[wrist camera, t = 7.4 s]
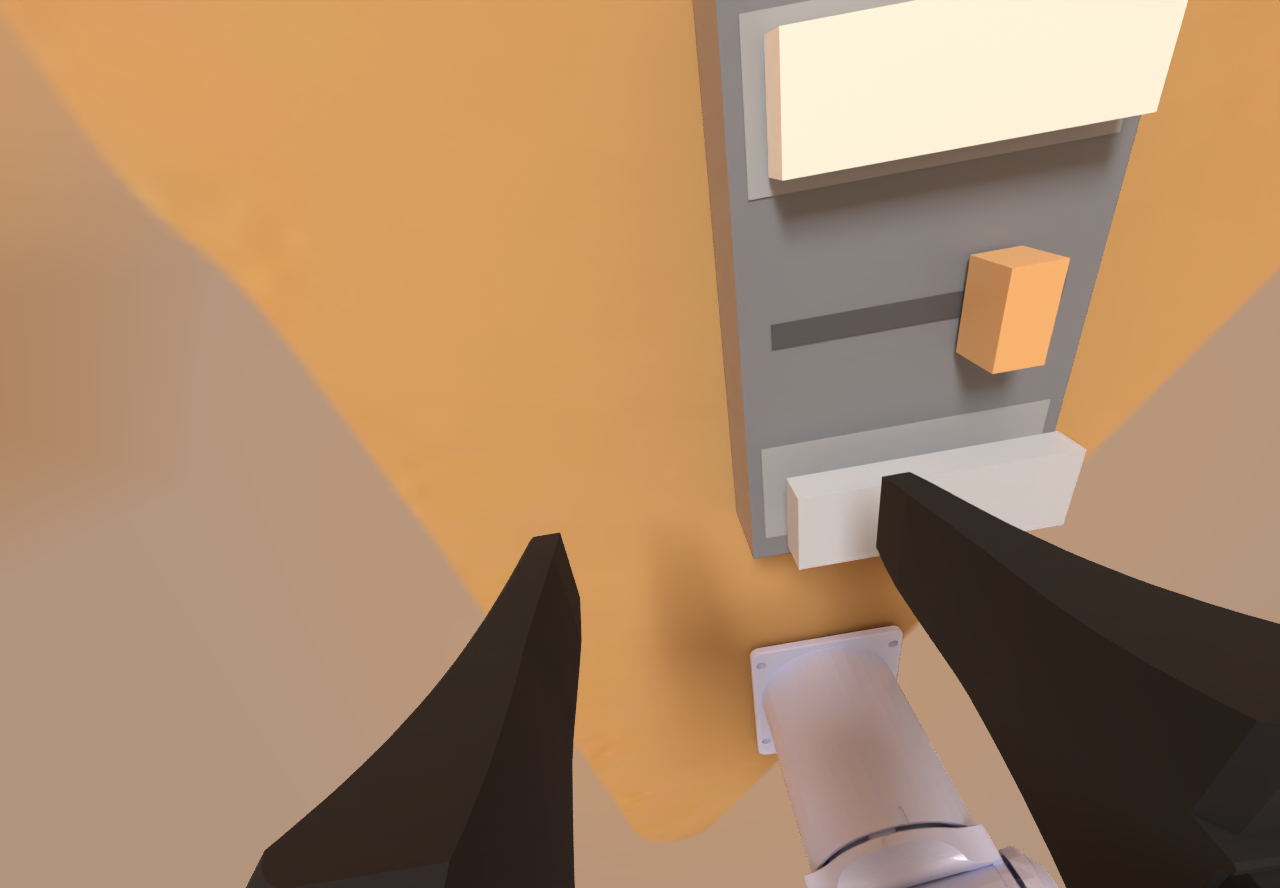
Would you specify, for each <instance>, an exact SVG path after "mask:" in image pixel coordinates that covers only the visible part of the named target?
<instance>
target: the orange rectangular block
mask: <svg viewBox="0 0 1280 888" xmlns="http://www.w3.org/2000/svg"><path fill="white" fill-rule="evenodd" d="M1069 261H1070V258H1068V257H1065V256H1061V255H1057V254H1053V253H1049V252H1045V251H1042V250H1038V249H1034V248H1030V247H1026V246H1017V247H1011V248H1006V249H1000V250H994V251H989V252H983V253H978V254H972V255H970V261H969V268H968V274H967V281H966V288H965V294H964V301H963V308H962V314H961V321H960V327H959V334H958V341H957V347H956V352H957V353H958V354H960V355H961V356H963V357H965V358H966V359H968V360H970V361H971V362H973V363H975V364H976V365H978V366H980V367H981V368H983V369H985V370H986V371H988V372H990V373H991V374H996V373H1001V372H1007V371H1013V370H1018V369H1024V368H1030V367H1035V366H1041V365H1044V364H1045V360H1046V356H1047V352H1048V348H1049V343H1050V339H1051V335H1052V331H1053V327H1054V323H1055V319H1056V315H1057V311H1058V307H1059V302H1060V298H1061V294H1062V290H1063V286H1064V282H1065V278H1066V274H1067V270H1068V266H1069Z"/></svg>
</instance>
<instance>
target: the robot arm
mask: <svg viewBox="0 0 1280 888" xmlns="http://www.w3.org/2000/svg"><path fill="white" fill-rule="evenodd" d="M876 548H877V550H878V552H879V554H880V557H881V559H882V561H883V563H884V565H885V567H886V569H887V571H888V573H889V575H890V577H891V578H892V580H893V582H894V584H895V586H896V588H897V589H898V591H899V592H900V594H901V595H902V597H903V598H904V600H905V601H906V603H907V604H908V606H909V607H910V609H911V610H912V612H913V613H914V615H915V616H916V618H917V619H918V621H919V622H920V624H921V625H922V626H923V628H924V629H925V631H926V632H927V634H928V635H929V637H930V638H931V640H932V641H933V642H934V644H935V645H936V647H937V648H938V650H939V651H940V653H941V654H942V656H943V657H944V659H945V660H946V661H947V663H948V664H949V666H950V667H951V669H952V670H953V672H954V673H955V674H956V676H957V678H958V679H959V681H960V682H961V684H962V686H963V687H964V689H965V690H966V692H967V694H968V695H969V697H970V698H971V700H972V702H973V704H974V706H975V708H976V709H977V711H978V713H979V715H980V717H981V718H982V720H983V722H984V724H985V726H986V728H987V729H988V731H989V733H990V734H991V737H992V738H993V740H994V742H995V744H996V746H997V748H998V750H999V752H1000V753H1001V755H1002V757H1003V759H1004V761H1005V763H1006V765H1007V767H1008V769H1009V770H1010V773H1011V775H1012V776H1013V778H1014V780H1015V782H1016V784H1017V786H1018V788H1019V790H1020V792H1021V794H1022V796H1023V798H1024V800H1025V802H1026V804H1027V806H1028V808H1029V810H1030V812H1031V814H1032V816H1033V818H1034V820H1035V822H1036V824H1037V826H1038V828H1039V830H1040V833H1041V835H1042V837H1043V839H1044V841H1045V843H1046V845H1047V847H1048V849H1049V851H1050V853H1051V855H1052V857H1053V860H1054V862H1055V864H1056V866H1057V868H1058V871H1059V873H1060V875H1061V877H1062V879H1063V881H1064V884H1065V886H1066V888H1280V624H1278V623H1274V622H1270V621H1267V620H1263V619H1260V618H1256V617H1252V616H1248V615H1245V614H1242V613H1238V612H1235V611H1232V610H1229V609H1225V608H1222V607H1219V606H1215V605H1212V604H1209V603H1206V602H1202V601H1200V600H1196V599H1193V598H1191V597H1188V596H1185V595H1181V594H1178V593H1176V592H1173V591H1169V590H1167V589H1164V588H1161V587H1158V586H1155V585H1151V584H1149V583H1146V582H1144V581H1141V580H1138V579H1135V578H1132V577H1130V576H1127V575H1125V574H1122V573H1120V572H1117V571H1115V570H1112V569H1109V568H1107V567H1104V566H1102V565H1099V564H1096V563H1094V562H1092V561H1089V560H1086V559H1084V558H1082V557H1080V556H1077V555H1075V554H1073V553H1070V552H1068V551H1065V550H1063V549H1061V548H1059V547H1057V546H1055V545H1053V544H1050V543H1048V542H1046V541H1044V540H1042V539H1040V538H1037V537H1035V536H1033V535H1031V534H1029V533H1027V532H1025V531H1023V530H1021V529H1019V528H1017V527H1015V526H1013V525H1011V524H1009V523H1007V522H1005V521H1003V520H1001V519H999V518H997V517H995V516H993V515H991V514H989V513H987V512H985V511H983V510H981V509H980V508H978V507H976V506H974V505H972V504H970V503H968V502H966V501H965V500H963V499H961V498H959V497H957V496H955V495H953V494H952V493H950V492H948V491H946V490H944V489H942V488H940V487H939V486H937V485H935V484H933V483H931V482H929V481H927V480H925V479H923V478H921V477H919V476H917V475H915V474H913V473H911V472H906V473H900V474H894V475H888V476H883V477H882V482H881V493H880V505H879V516H878V528H877V539H876ZM902 639H903V633H902V631H901V630H900V628H899V627H898V626H886V627H880V628H874V629H868V630H862V631H856V632H851V633H845V634H839V635H833V636H827V637H821V638H815V639H809V640H803V641H797V642H791V643H785V644H779V645H773V646H767V647H762V648H757V649H754V650H753V651H752V652H751V653H750V666H751V677H752V689H753V701H754V713H755V725H756V737H757V747H758V751H759V753H761V754H763V755H769V754H775V753H777V757H778V760H779V764H780V766H781V770H782V774H783V777H784V781H785V784H786V787H787V791H788V794H789V797H790V801H791V805H792V808H793V811H794V815H795V818H796V822H797V825H798V829H799V832H800V836H801V839H802V842H803V846H804V849H805V853H806V855H807V858H808V861H809V865H810V868H811V872H812V873H809V874H806V875H805V876H804V880H805V884H806V887H807V888H1058V886H1057V885H1056V883H1055V882H1054V881H1053V879H1052V878H1051V876H1050V875H1049V874H1048V873H1047V871H1046V870H1045V869H1044V868H1043V866H1042V865H1041V864H1040V863H1038V862H1037V861H1036V860H1034V859H1032V858H1031V857H1029V856H1027V855H1025V854H1022V853H1021V851H1019V850H1018V849H1017V848H1015V847H1014V846H1008V847H1006V848H1004V849H1000V850H999V851H997V849H996V847H995V845H994V843H993V842H992V840H991V838H990V836H989V834H988V833H987V831H986V829H985V827H984V826H983V825H982V824H975V822H974V820H973V819H972V817H971V815H970V813H969V811H968V810H967V808H966V806H965V804H964V802H963V801H962V799H961V797H960V795H959V793H958V791H957V790H956V788H955V786H954V784H953V782H952V781H951V779H950V777H949V775H948V773H947V771H946V770H945V768H944V766H943V764H942V762H941V761H940V759H939V757H938V755H937V753H936V752H935V750H934V748H933V746H932V744H931V742H930V741H929V739H928V737H927V735H926V733H925V732H924V730H923V728H922V726H921V724H920V722H919V721H918V719H917V717H916V715H915V713H914V712H913V710H912V708H911V706H910V704H909V703H908V701H907V699H906V697H905V695H904V694H903V692H902V690H901V688H900V686H899V685H898V683H897V675H898V668H899V660H900V653H901V646H902ZM580 653H581V611H580V596H579V593H578V590H577V587H576V583H575V580H574V577H573V574H572V570H571V567H570V564H569V560H568V557H567V554H566V551H565V547H564V544H563V541H562V538H561V534H560V533H555V534H549V535H543V536H537V537H533V538H532V539H531V541H530V542H529V544H528V546H527V548H526V549H525V551H524V553H523V555H522V557H521V559H520V560H519V562H518V564H517V566H516V568H515V569H514V571H513V573H512V575H511V576H510V578H509V580H508V582H507V583H506V585H505V587H504V589H503V590H502V592H501V593H500V595H499V597H498V598H497V600H496V602H495V603H494V605H493V607H492V608H491V610H490V611H489V613H488V615H487V616H486V618H485V619H484V621H483V622H482V624H481V625H480V627H479V628H478V630H477V631H476V633H475V634H474V636H473V637H472V639H471V640H470V641H469V643H468V644H467V646H466V647H465V649H464V650H463V651H462V653H461V654H460V655H459V657H458V658H457V659H456V661H455V662H454V664H453V665H452V666H451V667H450V669H449V670H448V671H447V673H446V674H445V675H444V676H443V678H442V679H441V680H440V681H439V683H438V684H437V685H436V686H435V688H434V689H433V690H432V691H431V692H430V694H429V695H428V696H427V697H426V698H425V699H424V701H423V702H422V703H421V704H420V705H419V706H418V707H417V708H416V709H415V711H414V712H413V713H412V714H411V715H410V716H409V717H408V718H407V720H405V722H404V723H403V724H402V725H401V726H400V727H399V728H398V729H397V730H396V731H395V732H394V734H393V735H392V736H391V737H390V738H389V739H388V740H387V741H386V742H385V743H384V744H383V745H382V746H381V747H380V748H379V749H378V750H377V751H376V752H375V753H374V754H373V755H372V756H371V757H370V758H369V759H368V760H367V761H366V762H365V763H364V764H363V765H362V766H361V767H360V768H358V769H357V770H356V771H355V772H354V773H353V774H352V775H351V776H350V777H349V778H348V779H347V780H346V781H345V782H344V783H343V784H342V785H340V786H339V787H338V788H337V789H336V790H335V791H334V792H333V793H332V794H330V795H329V796H328V797H327V798H326V799H325V800H324V801H323V802H321V803H320V804H319V805H318V806H317V807H316V808H314V809H313V810H312V811H311V812H310V813H309V814H307V815H306V816H305V817H304V818H303V819H302V820H300V821H299V822H298V823H297V824H296V825H295V826H293V827H292V828H291V829H290V830H289V831H288V832H286V833H285V834H284V835H283V836H282V837H281V838H280V839H278V840H277V841H276V842H275V843H273V844H272V845H271V846H270V847H268V849H266V850H265V851H264V853H263V855H262V857H261V859H260V861H259V863H258V865H257V867H256V869H255V871H254V873H253V875H252V877H251V879H250V881H249V883H248V885H247V887H246V888H575V883H574V847H573V793H572V792H573V791H572V790H573V789H572V788H573V787H572V758H573V737H574V725H575V714H576V702H577V690H578V678H579V666H580Z"/></svg>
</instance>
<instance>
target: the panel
mask: <svg viewBox="0 0 1280 888" xmlns="http://www.w3.org/2000/svg"><path fill="white" fill-rule="evenodd" d="M909 1H914V0H693V9H694V21H695V32H696V44H697V56H698V67H699V79H700V91H701V102H702V114H703V126H704V138H705V149H706V161H707V173H708V184H709V196H710V208H711V219H712V231H713V243H714V254H715V266H716V278H717V289H718V301H719V313H720V325H721V336H722V348H723V360H724V371H725V383H726V395H727V406H728V418H729V430H730V441H731V453H732V465H733V477H734V488H735V500H736V512H737V515H738V517H739V520H740V523H741V525H742V528H743V531H744V534H745V536H746V539H747V542H748V544H749V547H750V550H751V552H752V555H753V558H754V559H756V558H762V557H768V556H774V555H780V554H785V553H791V552H790V550H789V548H788V528H787V487H786V478H791V477H797V476H802V475H808V474H814V473H820V472H825V471H831V470H837V469H843V468H848V467H854V466H860V465H866V464H871V463H877V462H883V461H889V460H894V459H900V458H906V457H912V456H917V455H923V454H929V453H935V452H940V451H946V450H952V449H957V448H963V447H969V446H975V445H980V444H986V443H992V442H998V441H1003V440H1009V439H1015V438H1021V437H1026V436H1032V435H1038V434H1044V433H1049V432H1055V428H1056V424H1057V421H1058V417H1059V413H1060V410H1061V406H1062V402H1063V399H1064V395H1065V391H1066V388H1067V384H1068V380H1069V377H1070V373H1071V369H1072V366H1073V362H1074V358H1075V355H1076V351H1077V347H1078V344H1079V340H1080V336H1081V333H1082V329H1083V325H1084V322H1085V318H1086V314H1087V311H1088V307H1089V303H1090V300H1091V296H1092V292H1093V289H1094V285H1095V281H1096V278H1097V274H1098V271H1099V267H1100V263H1101V260H1102V256H1103V252H1104V249H1105V245H1106V241H1107V238H1108V234H1109V230H1110V227H1111V223H1112V219H1113V216H1114V212H1115V208H1116V205H1117V201H1118V197H1119V194H1120V190H1121V186H1122V183H1123V179H1124V175H1125V172H1126V168H1127V164H1128V161H1129V157H1130V153H1131V150H1132V146H1133V142H1134V139H1135V135H1136V131H1137V128H1138V124H1139V120H1140V117H1141V115H1136V116H1131V117H1126V118H1120V119H1115V120H1109V121H1104V122H1098V123H1093V124H1088V125H1082V126H1077V127H1071V128H1066V129H1060V130H1055V131H1050V132H1044V133H1039V134H1033V135H1028V136H1022V137H1017V138H1012V139H1006V140H1001V141H995V142H990V143H984V144H979V145H974V146H968V147H963V148H957V149H952V150H947V151H941V152H936V153H930V154H925V155H919V156H914V157H909V158H903V159H898V160H892V161H887V162H881V163H876V164H871V165H865V166H860V167H854V168H849V169H843V170H838V171H833V172H827V173H822V174H816V175H811V176H805V177H800V178H795V179H789V180H784V181H782V180H778V179H773V178H769V176H768V146H767V116H766V86H765V56H764V35H765V34H766V33H768V32H770V31H772V30H773V29H775V28H777V27H778V26H782V25H787V24H793V23H798V22H803V21H808V20H814V19H819V18H824V17H829V16H835V15H840V14H845V13H851V12H856V11H861V10H866V9H872V8H877V7H882V6H887V5H893V4H898V3H903V2H909ZM1017 246H1026V247H1030V248H1034V249H1038V250H1042V251H1045V252H1049V253H1053V254H1057V255H1061V256H1065V257H1068V258H1070V261H1069V266H1068V270H1067V274H1066V278H1065V282H1064V286H1063V290H1062V294H1061V298H1060V302H1059V307H1058V311H1057V315H1056V319H1055V323H1054V327H1053V331H1052V335H1051V339H1050V343H1049V348H1048V352H1047V356H1046V360H1045V364H1044V365H1041V366H1035V367H1030V368H1024V369H1018V370H1013V371H1007V372H1001V373H996V374H991V373H990V372H988V371H986V370H985V369H983V368H981V367H980V366H978V365H976V364H975V363H973V362H971V361H970V360H968V359H966V358H965V357H963V356H961V355H960V354H958V353H957V352H956V347H957V341H958V334H959V327H960V321H961V314H962V308H963V301H964V294H965V288H966V281H967V274H968V268H969V261H970V255H972V254H978V253H983V252H989V251H994V250H1000V249H1006V248H1011V247H1017Z"/></svg>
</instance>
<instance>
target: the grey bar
mask: <svg viewBox="0 0 1280 888" xmlns="http://www.w3.org/2000/svg"><path fill="white" fill-rule="evenodd" d="M1085 454H1086V449H1085V448H1083V447H1082V446H1080V445H1079V444H1077V443H1075V442H1074V441H1072V440H1071V439H1069V438H1068V437H1066V436H1065V435H1063V434H1061V433H1060V432H1058V431H1055V432H1049V433H1044V434H1038V435H1032V436H1026V437H1021V438H1015V439H1009V440H1003V441H998V442H992V443H986V444H980V445H975V446H969V447H963V448H957V449H952V450H946V451H940V452H935V453H929V454H923V455H917V456H912V457H906V458H900V459H894V460H889V461H883V462H877V463H871V464H866V465H860V466H854V467H848V468H843V469H837V470H831V471H825V472H820V473H814V474H808V475H802V476H797V477H791V478H786V487H787V528H788V548H789V550H790V552H791V554H792V556H793V558H794V560H795V562H796V565H797V567H798V569H799V570H801V569H807V568H812V567H818V566H824V565H830V564H836V563H842V562H847V561H853V560H859V559H865V558H871V557H877V556H880V554H879V552H878V550H877V548H876V539H877V528H878V516H879V505H880V493H881V482H882V477H883V476H888V475H894V474H900V473H906V472H911V473H913V474H915V475H917V476H919V477H921V478H923V479H925V480H927V481H929V482H931V483H933V484H935V485H937V486H939V487H940V488H942V489H944V490H946V491H948V492H950V493H952V494H953V495H955V496H957V497H959V498H961V499H963V500H965V501H966V502H968V503H970V504H972V505H974V506H976V507H978V508H980V509H981V510H983V511H985V512H987V513H989V514H991V515H993V516H995V517H997V518H999V519H1001V520H1003V521H1005V522H1007V523H1009V524H1011V525H1013V526H1015V527H1017V528H1019V529H1021V530H1023V531H1029V530H1035V529H1040V528H1046V527H1052V526H1057V525H1063V523H1064V520H1065V517H1066V514H1067V511H1068V507H1069V504H1070V501H1071V498H1072V495H1073V492H1074V488H1075V485H1076V482H1077V479H1078V476H1079V473H1080V469H1081V466H1082V463H1083V460H1084V457H1085Z"/></svg>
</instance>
